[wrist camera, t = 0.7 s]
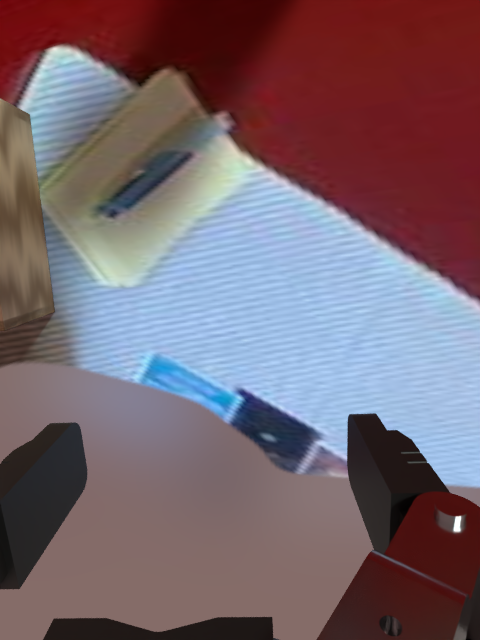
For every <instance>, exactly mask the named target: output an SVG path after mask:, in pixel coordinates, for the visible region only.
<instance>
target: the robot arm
mask: <svg viewBox="0 0 480 640" xmlns="http://www.w3.org/2000/svg"><path fill="white" fill-rule="evenodd" d="M347 466H348V475H349V481H350V485H351V488H352V490H353V493H354V496H355V499H356V502H357V504H358V507H359V510H360V512H361V515H362V518H363V521H364V523H365V526H366V529H367V531H368V534H369V537H370V540H371V542H372V545H373V548H374V550H372V551H371V552H370V553H369V554H368V556H367V557H366V559H365V561H364V562H363V564H362V566H361V567H360V569H359V571H358V572H357V574H356V576H355V577H354V579H353V580H352V582H351V584H350V585H349V587H348V589H347V590H346V592H345V594H344V595H343V597H342V599H341V600H340V602H339V604H338V605H337V607H336V609H335V610H334V612H333V613H332V615H331V617H330V619H329V620H328V622H327V623H326V625H325V627H324V628H323V630H322V632H321V633H320V635H319V637H318V638H317V640H480V507H479V506H477V505H476V504H474V503H473V502H471V501H470V500H468V499H465V498H463V497H461V496H458V495H455V494H452V493H450V492H449V490H448V489H447V488H446V486H445V485H444V484H443V482H442V481H441V479H440V478H439V477H438V475H437V474H436V473H435V471H434V470H433V468H432V467H431V466H430V464H429V463H427V460H426V459H425V458H424V456H423V455H422V453H420V451H419V449H418V448H417V447H416V445H415V444H414V442H413V441H412V440H411V439H410V438H408V437H407V436H405V435H403V434H402V433H400V432H399V431H397V430H388V431H387V430H386V428H385V427H384V425H383V424H382V422H381V420H380V419H379V417H378V416H377V414H350V415H349V417H348V448H347ZM86 480H87V466H86V459H85V453H84V447H83V440H82V435H81V429H80V426H79V425H78V424H77V423H51V424H49V425H47V426H46V427H45V428H44V429H43V431H41V432H40V433H39V434H38V435H37V436H36V437H35V438H34V439H33V440H32V441H29V442H27V443H26V444H24V445H23V446H20V447H19V448H17V449H15V450H14V451H12V452H11V453H10V454H9V456H7V457H6V458H5V459H4V460H3V461H2V463H1V464H0V589H20V587H21V586H22V584H23V583H24V581H25V580H26V578H27V577H28V575H29V573H30V572H31V570H32V569H33V567H34V566H35V564H36V563H37V561H38V560H39V558H40V557H41V555H42V554H43V552H44V550H45V549H46V547H47V546H48V544H49V543H50V541H51V539H52V538H53V537H54V535H55V534H56V532H57V531H58V529H59V527H60V526H61V524H62V523H63V521H64V520H65V518H66V517H67V515H68V514H69V512H70V511H71V509H72V507H73V506H74V504H75V503H76V501H77V500H78V498H79V497H80V495H81V494H82V492H83V490H84V488H85V484H86ZM43 640H279V639H275V638H273V624H272V617H221V618H219V617H218V618H214V619H210V620H206V621H202V622H198V623H195V624H190V625H187V626H183V627H179V628H175V629H172V630H167V631H163V632H153V631H149V630H146V629H142V628H139V627H135V626H132V625H128V624H125V623H121V622H118V621H114V620H111V619H107V618H76V619H54V620H53V621H52V623H51V625H50V627H49V629H48V631H47V634H46V635H45V637H44V639H43Z"/></svg>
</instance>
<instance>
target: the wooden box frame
mask: <svg viewBox="0 0 480 640" xmlns="http://www.w3.org/2000/svg"><path fill="white" fill-rule="evenodd" d="M53 312H55V310H54V302H53V294H52V287H51V279H50V271H49V263H48V255H47V247H46V239H45V232H44V224H43V216H42V208H41V200H40V192H39V185H38V177H37V169H36V161H35V153H34V145H33V138H32V130H31V122H30V114H28V113H26V112H24V111H22V110H20V109H19V108H17V107H15V106H13V105H11V104H9V103H7V102H6V101H4V100H2V99H0V331H6V330H8V329H11V328H13V327H16V326H19V325H21V324H24V323H27V322H29V321H32V320H35V319H37V318H40V317H42V316H45V315H48V314H50V313H53Z"/></svg>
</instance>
